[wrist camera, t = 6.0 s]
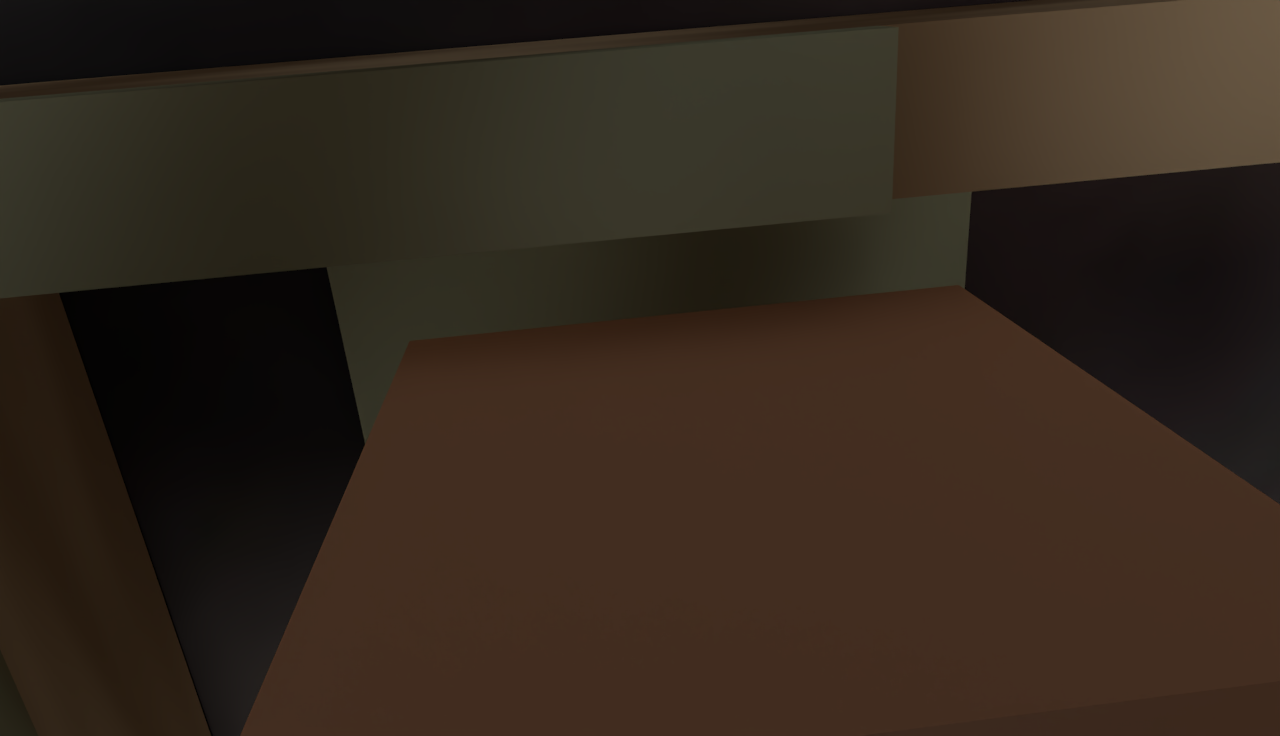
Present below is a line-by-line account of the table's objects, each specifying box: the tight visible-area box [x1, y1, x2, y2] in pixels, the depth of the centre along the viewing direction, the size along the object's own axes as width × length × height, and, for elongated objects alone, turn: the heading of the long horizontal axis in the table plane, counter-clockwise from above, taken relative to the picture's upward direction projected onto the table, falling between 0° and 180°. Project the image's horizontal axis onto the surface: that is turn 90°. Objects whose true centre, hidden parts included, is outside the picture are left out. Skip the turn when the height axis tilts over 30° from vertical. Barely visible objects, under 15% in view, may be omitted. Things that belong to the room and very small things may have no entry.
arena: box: [0, 0, 1280, 736], centre depth 12 cm, size 20×17×4 cm
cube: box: [240, 285, 1280, 736], centre depth 7 cm, size 6×6×6 cm
